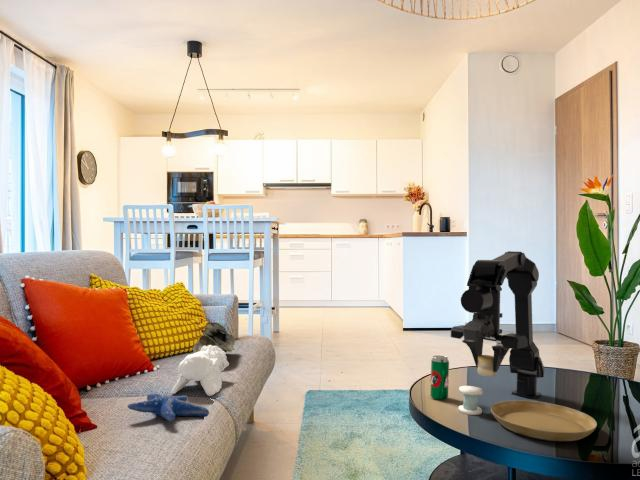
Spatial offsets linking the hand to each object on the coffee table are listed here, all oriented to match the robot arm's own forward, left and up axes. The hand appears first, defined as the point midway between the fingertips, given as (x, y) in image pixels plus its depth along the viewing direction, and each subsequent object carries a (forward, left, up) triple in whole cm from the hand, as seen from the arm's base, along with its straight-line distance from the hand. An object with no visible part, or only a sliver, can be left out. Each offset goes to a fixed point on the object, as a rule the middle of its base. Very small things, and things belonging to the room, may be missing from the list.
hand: (486, 370), depth 127 cm
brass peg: (0, 0, -1) cm, 1 cm away
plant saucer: (-8, +11, -13) cm, 19 cm away
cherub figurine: (+44, -68, -13) cm, 82 cm away
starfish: (+62, -50, -13) cm, 81 cm away
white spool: (-3, -6, -13) cm, 15 cm away
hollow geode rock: (+22, -98, -13) cm, 101 cm away
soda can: (-6, -18, -13) cm, 23 cm away
